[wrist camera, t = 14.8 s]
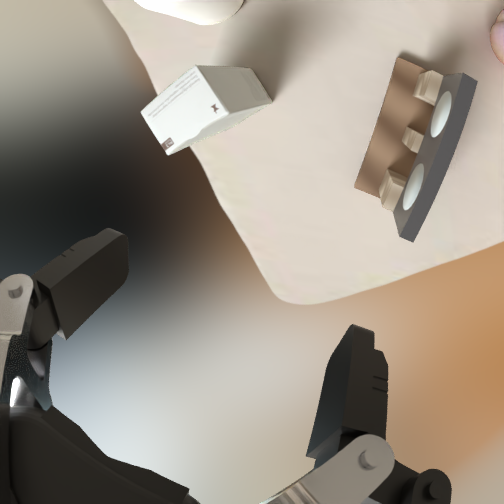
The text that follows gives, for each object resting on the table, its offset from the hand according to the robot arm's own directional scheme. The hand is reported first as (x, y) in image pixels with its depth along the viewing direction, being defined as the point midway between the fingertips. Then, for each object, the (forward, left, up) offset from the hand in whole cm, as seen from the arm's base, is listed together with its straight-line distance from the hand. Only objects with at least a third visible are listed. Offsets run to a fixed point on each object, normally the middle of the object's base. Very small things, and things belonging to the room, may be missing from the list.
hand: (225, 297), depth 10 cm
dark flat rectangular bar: (-5, +11, -24) cm, 27 cm away
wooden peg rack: (-5, +11, -32) cm, 34 cm away
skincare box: (-2, -12, -33) cm, 35 cm away
